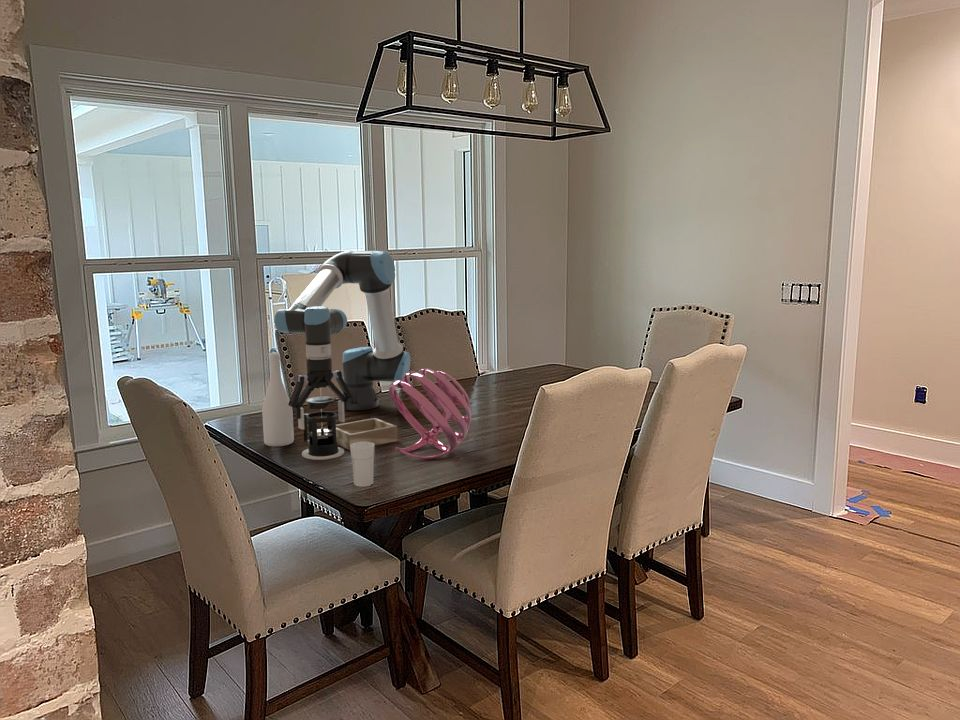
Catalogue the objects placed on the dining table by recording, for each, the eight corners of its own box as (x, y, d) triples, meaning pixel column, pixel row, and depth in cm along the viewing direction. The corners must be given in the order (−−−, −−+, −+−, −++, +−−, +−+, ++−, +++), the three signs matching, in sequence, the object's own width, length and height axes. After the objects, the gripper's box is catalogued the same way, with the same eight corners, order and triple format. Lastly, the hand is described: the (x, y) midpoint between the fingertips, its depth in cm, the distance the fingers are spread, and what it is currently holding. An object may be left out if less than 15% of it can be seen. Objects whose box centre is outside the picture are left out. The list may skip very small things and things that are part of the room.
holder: (329, 440, 252) (329, 426, 252) (375, 431, 263) (375, 417, 262) (350, 450, 241) (349, 435, 240) (397, 440, 252) (397, 426, 251)
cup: (362, 489, 205) (360, 449, 203) (346, 484, 209) (344, 445, 208) (380, 483, 210) (379, 444, 208) (365, 478, 214) (363, 440, 212)
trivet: (295, 452, 239) (294, 450, 239) (332, 445, 247) (332, 443, 247) (313, 462, 229) (313, 460, 229) (351, 454, 237) (351, 452, 237)
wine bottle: (269, 439, 255) (264, 350, 250) (297, 439, 254) (292, 350, 249) (260, 447, 245) (254, 355, 240) (289, 447, 245) (284, 355, 240)
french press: (346, 449, 240) (343, 378, 236) (330, 458, 231) (326, 383, 227) (314, 446, 244) (310, 375, 240) (297, 454, 235) (293, 381, 231)
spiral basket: (375, 407, 215) (444, 346, 224) (352, 410, 240) (414, 355, 250) (437, 480, 220) (501, 418, 229) (408, 475, 245) (467, 419, 255)
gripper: (285, 363, 222) (289, 434, 226) (361, 354, 237) (363, 420, 241) (275, 360, 228) (278, 429, 232) (349, 351, 243) (352, 416, 247)
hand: (321, 425), depth 236 cm, fingers open, 13 cm apart
